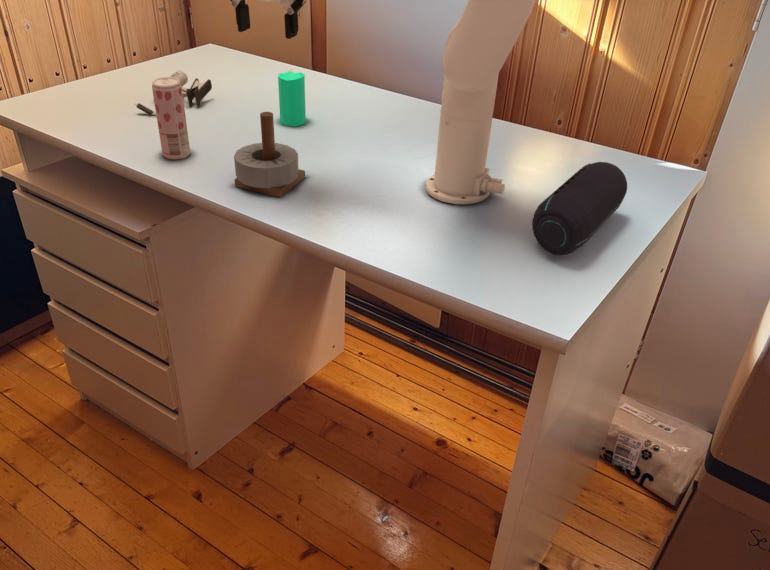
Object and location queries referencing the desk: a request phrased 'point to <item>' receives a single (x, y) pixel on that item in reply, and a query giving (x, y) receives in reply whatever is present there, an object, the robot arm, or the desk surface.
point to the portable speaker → (579, 208)
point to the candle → (292, 98)
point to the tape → (266, 166)
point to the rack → (270, 158)
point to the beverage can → (171, 117)
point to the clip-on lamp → (186, 90)
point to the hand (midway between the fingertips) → (267, 33)
